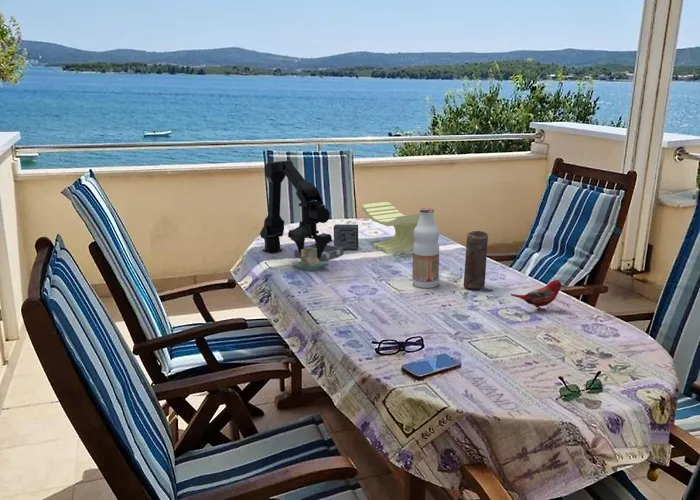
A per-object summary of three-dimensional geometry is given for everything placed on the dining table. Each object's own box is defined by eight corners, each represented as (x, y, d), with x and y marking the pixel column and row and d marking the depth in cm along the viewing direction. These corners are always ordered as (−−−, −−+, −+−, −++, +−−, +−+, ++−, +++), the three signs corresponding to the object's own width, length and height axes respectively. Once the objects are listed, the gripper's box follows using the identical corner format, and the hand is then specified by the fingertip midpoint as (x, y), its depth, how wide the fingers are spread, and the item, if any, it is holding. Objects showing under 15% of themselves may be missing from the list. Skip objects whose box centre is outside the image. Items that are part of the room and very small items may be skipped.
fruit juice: (414, 288, 215) (415, 211, 208) (410, 280, 224) (411, 206, 217) (440, 288, 216) (442, 211, 208) (435, 280, 225) (438, 205, 217)
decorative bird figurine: (563, 310, 193) (566, 280, 191) (511, 314, 191) (512, 284, 188) (559, 307, 196) (561, 278, 194) (507, 311, 193) (509, 281, 191)
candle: (487, 286, 217) (490, 231, 212) (482, 292, 211) (485, 236, 206) (466, 283, 221) (468, 229, 215) (461, 289, 214) (463, 234, 209)
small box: (358, 246, 272) (358, 223, 269) (357, 250, 265) (357, 227, 263) (335, 246, 273) (335, 223, 270) (333, 250, 266) (333, 227, 264)
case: (294, 256, 257) (294, 250, 256) (317, 249, 268) (317, 242, 267) (322, 262, 248) (322, 255, 247) (344, 254, 259) (344, 248, 258)
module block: (301, 264, 243) (301, 249, 242) (309, 261, 247) (309, 246, 245) (310, 266, 240) (310, 251, 239) (319, 263, 244) (318, 248, 242)
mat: (292, 266, 243) (292, 264, 243) (309, 261, 250) (309, 258, 250) (311, 271, 237) (311, 268, 237) (327, 265, 245) (327, 262, 244)
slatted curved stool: (429, 253, 259) (430, 212, 255) (397, 258, 252) (398, 216, 248) (392, 238, 285) (392, 201, 280) (362, 243, 278) (362, 204, 273)
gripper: (277, 219, 238) (279, 257, 242) (313, 225, 227) (314, 265, 231) (296, 214, 246) (298, 251, 251) (332, 220, 235) (333, 258, 239)
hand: (310, 256), depth 243 cm, fingers open, 9 cm apart
